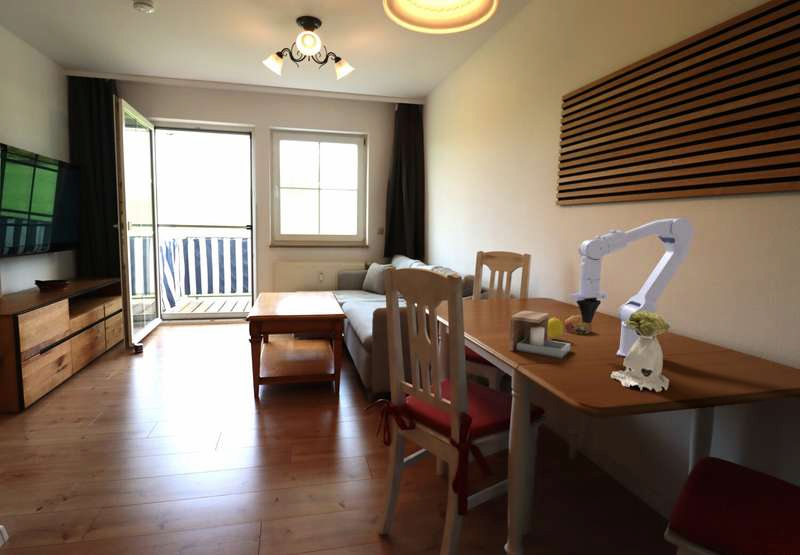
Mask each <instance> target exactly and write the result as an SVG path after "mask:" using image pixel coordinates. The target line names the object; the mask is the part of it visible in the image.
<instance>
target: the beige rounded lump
mask: <svg viewBox="0 0 800 555" xmlns="http://www.w3.org/2000/svg"><path fill="white" fill-rule="evenodd" d="M544 330H545V328H544V327H541V326H531V327H530V344H531V345H537V346H543V347H544Z"/></svg>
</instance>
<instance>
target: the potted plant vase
mask: <svg viewBox="0 0 800 555" xmlns="http://www.w3.org/2000/svg"><path fill="white" fill-rule="evenodd" d="M623 323H624V324H626V326H627V327H629V329H632V330H635V331H636V334H637V335H639V336H640V337H639V339H638V340H637V341H636V342H635V343H634V345H633V346H632V347H631V349H630V351H629V352H628V353H627V355H626V356H625V358H624V360H623V363H622V364H623V366H624V367H626V368H625V370H618V371H615V370H614V371H612V373H611V374H610V378H611V379H616V380H618V381H619V382H621V385H622V386H623V387H628V388H630V386H632V387H634V386H638V388H640V391H642V390H643V388H647V389H649V391H652V390H653V389H654V390H655V392H657V393H659V392H661V391H662V390H663V388H664V390H665V391H667V390H668V389H669V385H670V379H669V378H667V377H666V376H665V375H664V374H662V371H663V366H664V363H663V362H664V361H663V360H664V355H663V350H662V347H661V344H660V342H659V339H658V338H657V336H658V335H660V334H664V333H666V332H668V329H670V327H671V326H670V325H669V323H668V322H667V321H665V320H664V319H663V318H661V316H660V315H658V314H657V313H656V312H655V313H652V312H648V311H640V312H635V313H632V314H631V316H630V317H629V321H624V322H623ZM646 375H647V376H646ZM662 387H663V388H662Z"/></svg>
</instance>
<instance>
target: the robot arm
mask: <svg viewBox="0 0 800 555" xmlns="http://www.w3.org/2000/svg"><path fill="white" fill-rule="evenodd" d="M609 232H610V233H607V234H603V235H601V236H600V235H596V236H594V239H586V240H584V241H583V242H582V243H581V244H580V247H578V253H579V255H580V257H581V261H580V273H579V274H580V276H579V287H578V288H579V290H578V292H576V293H570V297H569V298H570V301H572V302H576V304H577V306H578V308H579V311H580V314H581V315H580V316H582V320H583V322H584V323H591V324H592V321H593V318H594V316H595V313H596V311H597V309H598V308H599V306H600V305H601V300H600V299H607V292H606V291H600V287H601V275H602V272H601V271H602V262H603V261H602V260H603V258H604V257H605V256H606V255H609V254H611V253H614V252H617V251H620V250H623V249H626V247H628V244H629V243H631V242H635V241H638V240H640V239H643V238H647V237H651V236H657V237H658V239H659V240H660V242H661V243H662V244H663V246H664V248H665V253H664V254H663V255H662V257H661V258H660V260H659V262H658V263H657V265H656V266H655V267H654V269H653V271H652V272H651V273H650V275H649V276H648V278H647V279H646V281H645V282H644V284H643V286H642V287H641V288H640V290H639V291H638V293H636V295H633V296H631V297H630V298H629V299H628V301H627V302H625V303H624V304H622V305H620V307H619V309H618V317H619V319H620V321H621V325H620V326H621V329H620V340H619V342H620V343H619V349H618V350H617V352H616V355H617V356H622V357H626V355H627V353H628V352H629V351H630V349H631V347H632V346H633V345H634V343H635V342H636V341H637V340H638V339H639V337H640V336H639V335H637V334H636V331H635V330H632V329H629V327H627V326H626V324H624V323H623V322H624V321H629V317H630V316H631V314H632V313H635V312H640V311H648V312H652V313H655V314H656V312H657V311H658V310H657V306H656V302H657V300H658V299H659V298H660V296H661V295H662V294H663V292H664V291H665V289H666V288H667V286H668V285H669V283H670V282H671V280H672V278H674V276H675V274H676V273H677V271H678V270H679V269H680V267H681V266H682V264H683V262H685V260H686V258H687V257H688V256H689V253H690V248H691V242H692V238H693V237H694V236H695V234H696V230H695V227H694V224H693V222H692V221H691V219H689V218H687V217H680V218H661V219H657V220H653V221H650V222H648V223H644V224H642V225H640V226H638V227H635V228H632V229H630V230H628V231H625V232H624V231H622V230H621V229H619V230H617V229H611V230H610V231H609Z"/></svg>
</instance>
